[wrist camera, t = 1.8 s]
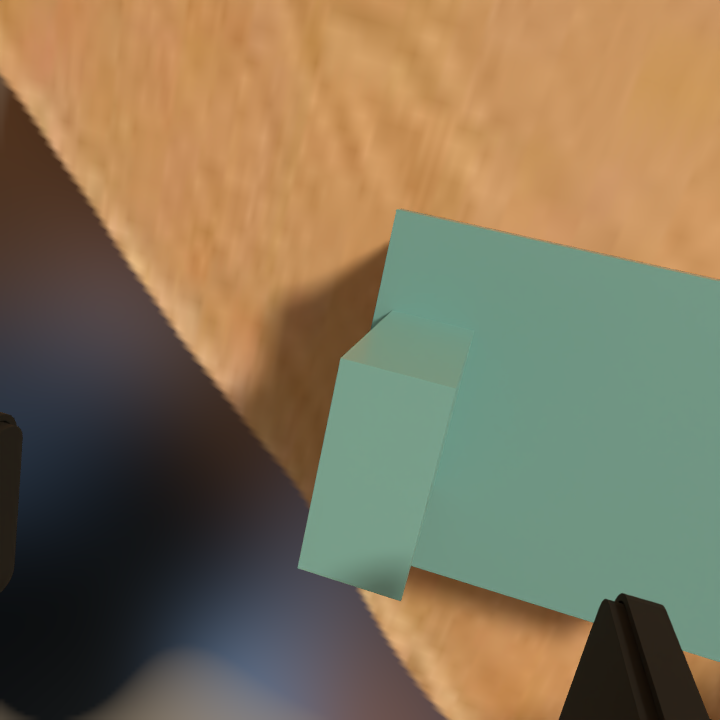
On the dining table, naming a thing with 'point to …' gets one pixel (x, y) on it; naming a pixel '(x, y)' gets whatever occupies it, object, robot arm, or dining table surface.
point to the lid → (528, 429)
